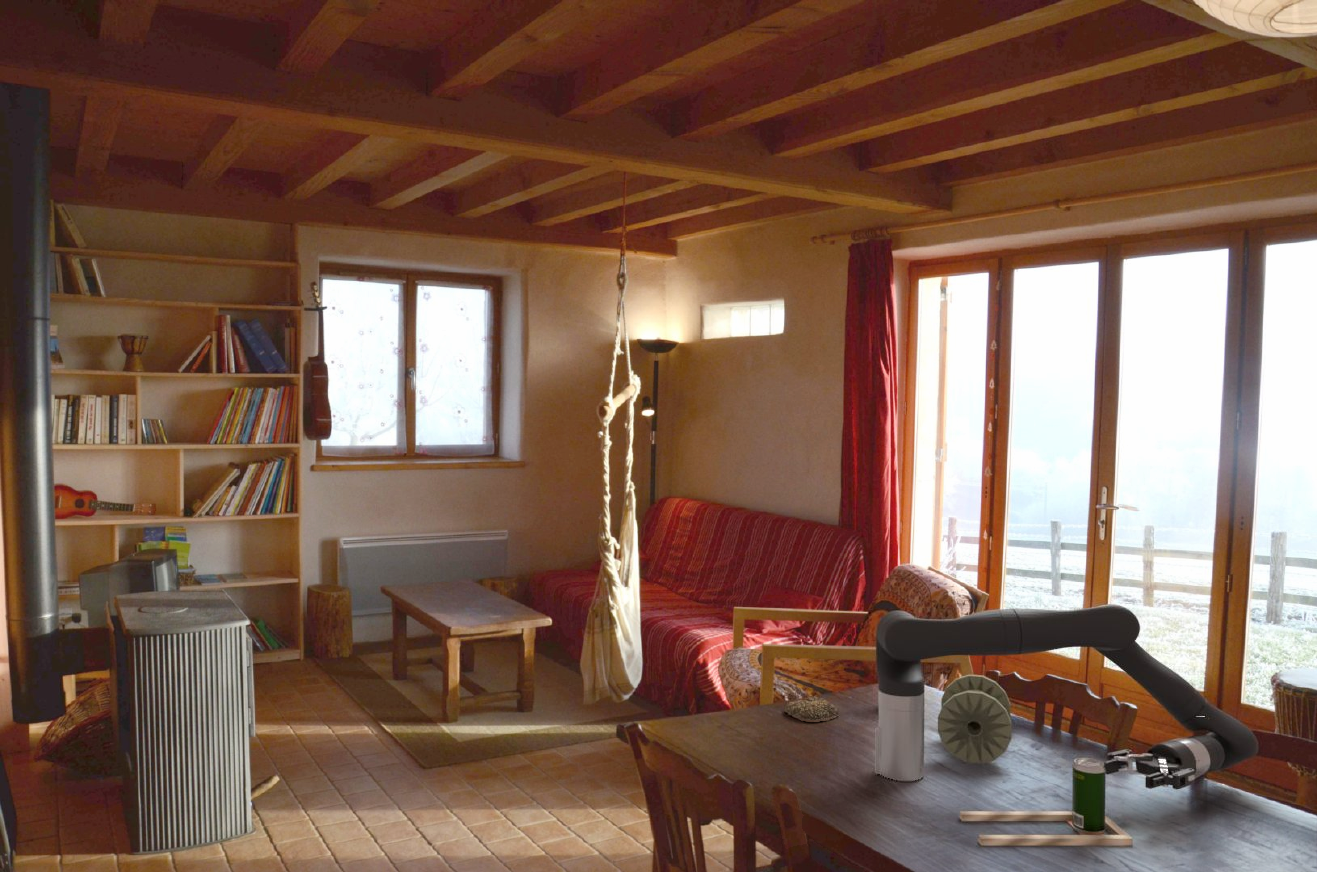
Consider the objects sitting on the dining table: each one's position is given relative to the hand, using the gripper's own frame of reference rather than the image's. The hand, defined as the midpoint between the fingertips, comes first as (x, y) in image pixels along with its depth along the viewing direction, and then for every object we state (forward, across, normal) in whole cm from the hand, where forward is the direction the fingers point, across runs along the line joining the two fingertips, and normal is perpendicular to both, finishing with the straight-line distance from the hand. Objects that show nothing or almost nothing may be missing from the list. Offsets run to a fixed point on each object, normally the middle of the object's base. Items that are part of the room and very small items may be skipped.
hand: (1125, 775), depth 181 cm
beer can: (+10, 0, +8) cm, 13 cm away
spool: (-6, -41, +8) cm, 42 cm away
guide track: (+17, -4, +8) cm, 19 cm away
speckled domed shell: (+7, -80, +8) cm, 81 cm away
